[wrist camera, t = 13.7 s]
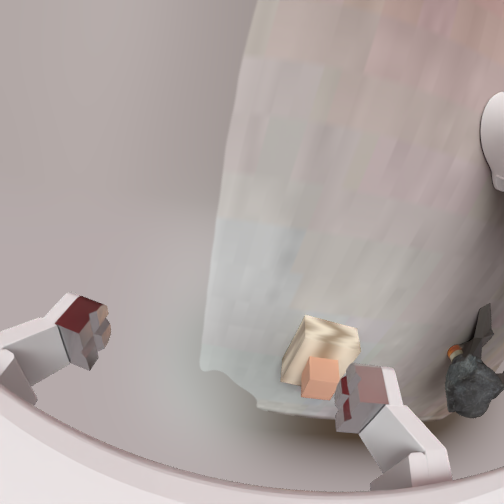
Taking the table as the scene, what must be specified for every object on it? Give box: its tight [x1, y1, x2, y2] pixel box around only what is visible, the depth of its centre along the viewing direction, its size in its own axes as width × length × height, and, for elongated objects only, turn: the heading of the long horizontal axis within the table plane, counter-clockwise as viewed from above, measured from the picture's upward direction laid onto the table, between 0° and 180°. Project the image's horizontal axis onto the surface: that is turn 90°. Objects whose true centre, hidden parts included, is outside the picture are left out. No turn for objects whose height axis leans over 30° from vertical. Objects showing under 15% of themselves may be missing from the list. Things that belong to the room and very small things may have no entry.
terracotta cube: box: [301, 356, 340, 400], centre depth 46 cm, size 5×5×5 cm
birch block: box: [280, 315, 361, 386], centre depth 51 cm, size 10×12×6 cm
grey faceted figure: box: [445, 303, 504, 418], centre depth 42 cm, size 14×15×18 cm
